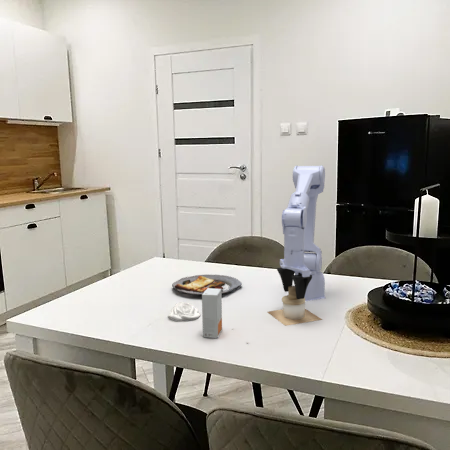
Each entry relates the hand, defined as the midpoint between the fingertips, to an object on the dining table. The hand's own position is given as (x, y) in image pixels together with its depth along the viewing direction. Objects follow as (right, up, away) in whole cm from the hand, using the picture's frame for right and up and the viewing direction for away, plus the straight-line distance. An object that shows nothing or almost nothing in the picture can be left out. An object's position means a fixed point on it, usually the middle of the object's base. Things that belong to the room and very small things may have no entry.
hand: (293, 294), depth 133 cm
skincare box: (-24, -9, -9) cm, 27 cm away
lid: (0, -2, 0) cm, 2 cm away
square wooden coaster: (0, -7, +1) cm, 7 cm away
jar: (0, -6, +1) cm, 6 cm away
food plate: (-27, -3, +31) cm, 42 cm away
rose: (-33, -8, +4) cm, 34 cm away
